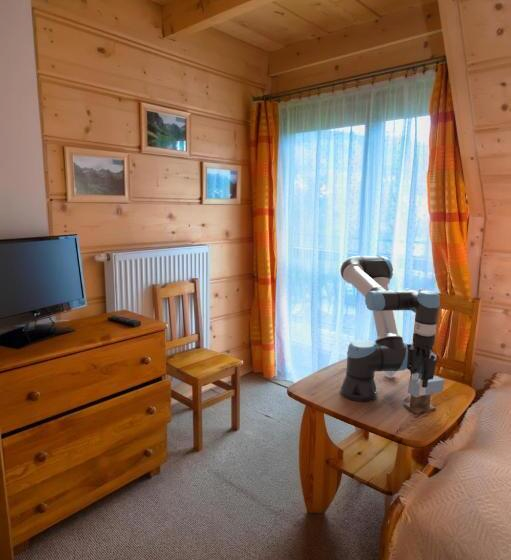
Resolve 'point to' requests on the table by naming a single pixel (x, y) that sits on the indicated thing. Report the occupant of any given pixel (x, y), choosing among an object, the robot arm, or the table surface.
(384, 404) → the table surface
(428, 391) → the bar
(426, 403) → the ridge stand
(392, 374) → the cup
